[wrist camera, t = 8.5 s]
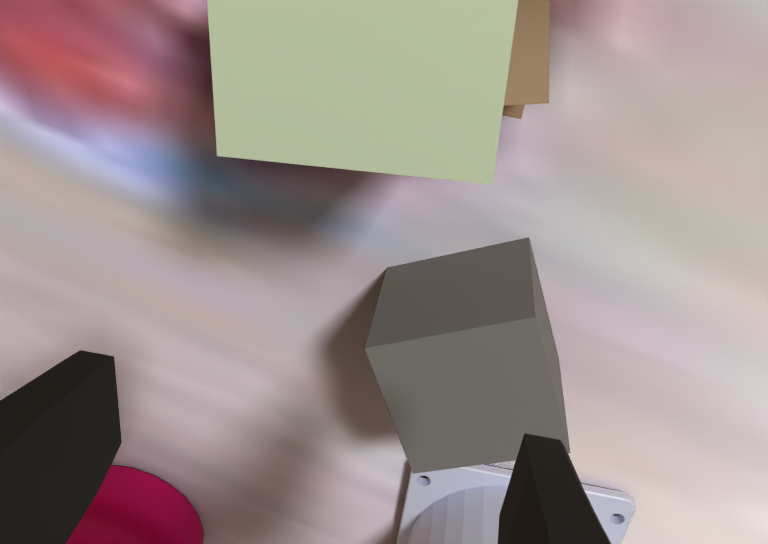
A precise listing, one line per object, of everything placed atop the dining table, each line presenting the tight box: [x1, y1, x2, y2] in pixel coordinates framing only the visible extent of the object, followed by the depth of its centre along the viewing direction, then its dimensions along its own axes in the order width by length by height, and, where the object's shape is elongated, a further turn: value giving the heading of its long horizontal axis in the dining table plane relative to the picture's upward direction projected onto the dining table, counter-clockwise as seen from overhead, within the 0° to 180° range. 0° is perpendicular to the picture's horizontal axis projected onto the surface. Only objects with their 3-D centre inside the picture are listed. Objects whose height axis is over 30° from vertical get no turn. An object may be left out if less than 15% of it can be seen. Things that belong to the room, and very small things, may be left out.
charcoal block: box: [364, 238, 570, 474], centre depth 21 cm, size 4×4×4 cm
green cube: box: [207, 0, 518, 184], centre depth 12 cm, size 4×4×4 cm
